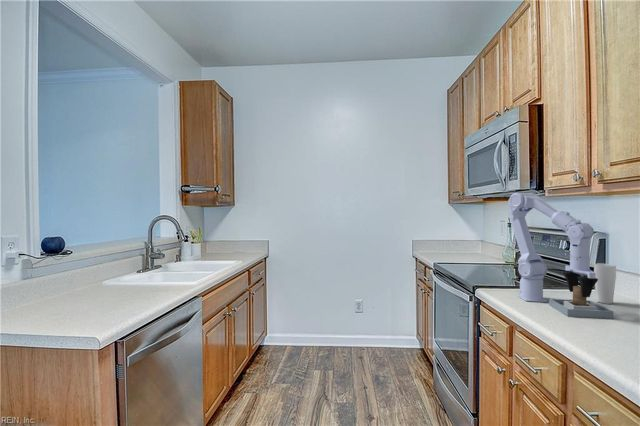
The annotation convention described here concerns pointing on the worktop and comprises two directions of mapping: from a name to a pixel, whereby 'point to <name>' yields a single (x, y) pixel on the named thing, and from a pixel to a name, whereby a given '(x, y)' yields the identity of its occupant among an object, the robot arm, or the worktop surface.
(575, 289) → the walnut peg
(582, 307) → the candle dish
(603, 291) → the drinking glass
